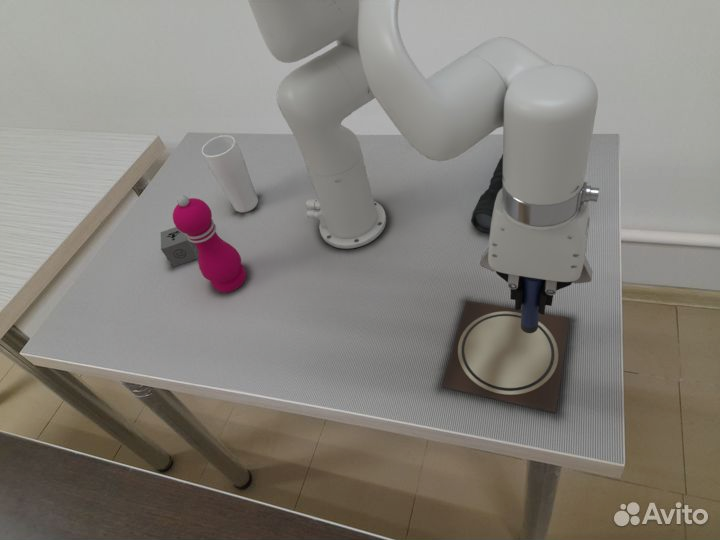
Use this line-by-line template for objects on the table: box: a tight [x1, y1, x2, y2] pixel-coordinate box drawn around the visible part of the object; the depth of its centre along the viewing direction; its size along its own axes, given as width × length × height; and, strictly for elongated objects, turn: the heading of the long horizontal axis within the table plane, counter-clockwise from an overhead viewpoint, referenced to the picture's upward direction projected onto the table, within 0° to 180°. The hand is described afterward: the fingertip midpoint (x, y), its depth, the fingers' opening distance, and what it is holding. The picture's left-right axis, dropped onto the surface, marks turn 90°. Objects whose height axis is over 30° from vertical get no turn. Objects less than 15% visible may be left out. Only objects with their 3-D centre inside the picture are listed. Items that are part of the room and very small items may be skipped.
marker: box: [521, 277, 543, 333], centre depth 66 cm, size 2×2×11 cm
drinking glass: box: [201, 134, 259, 214], centre depth 103 cm, size 7×7×15 cm
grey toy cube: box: [160, 226, 199, 268], centre depth 100 cm, size 5×5×5 cm
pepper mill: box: [172, 194, 247, 293], centre depth 88 cm, size 7×7×20 cm
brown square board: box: [441, 300, 570, 414], centre depth 74 cm, size 15×15×1 cm
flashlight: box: [470, 153, 503, 234], centre depth 94 cm, size 5×21×5 cm, turn 155°
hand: (531, 302), depth 66 cm, fingers closed on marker, 2 cm apart
